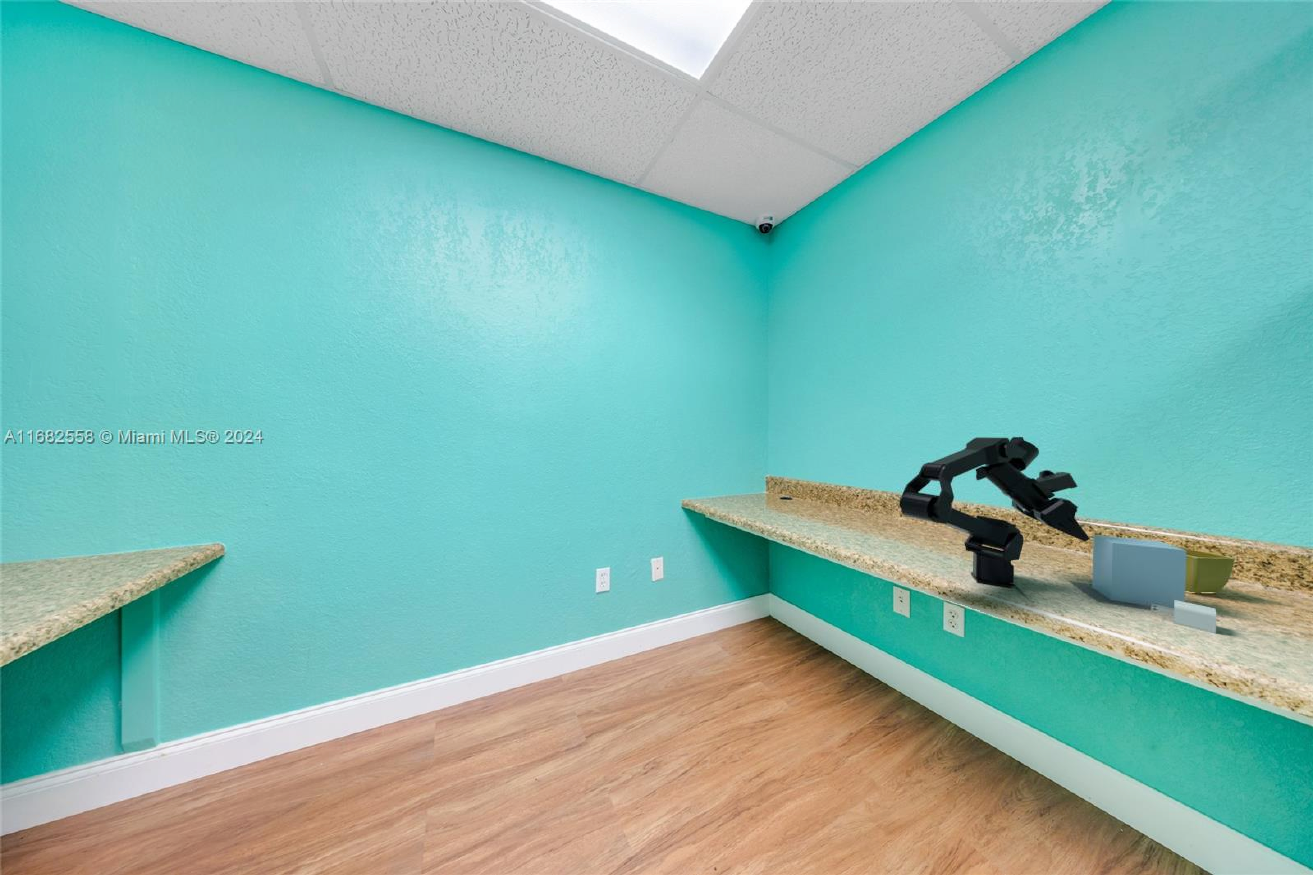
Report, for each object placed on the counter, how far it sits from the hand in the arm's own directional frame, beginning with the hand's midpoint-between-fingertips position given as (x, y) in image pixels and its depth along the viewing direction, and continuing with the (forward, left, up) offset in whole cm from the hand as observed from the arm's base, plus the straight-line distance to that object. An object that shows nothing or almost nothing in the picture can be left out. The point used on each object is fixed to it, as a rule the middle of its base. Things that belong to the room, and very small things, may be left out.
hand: (1076, 535), depth 85 cm
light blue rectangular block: (+9, 0, -12) cm, 15 cm away
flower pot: (+23, +14, -13) cm, 30 cm away
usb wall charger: (+10, -11, -13) cm, 20 cm away
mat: (+9, 0, -13) cm, 15 cm away
